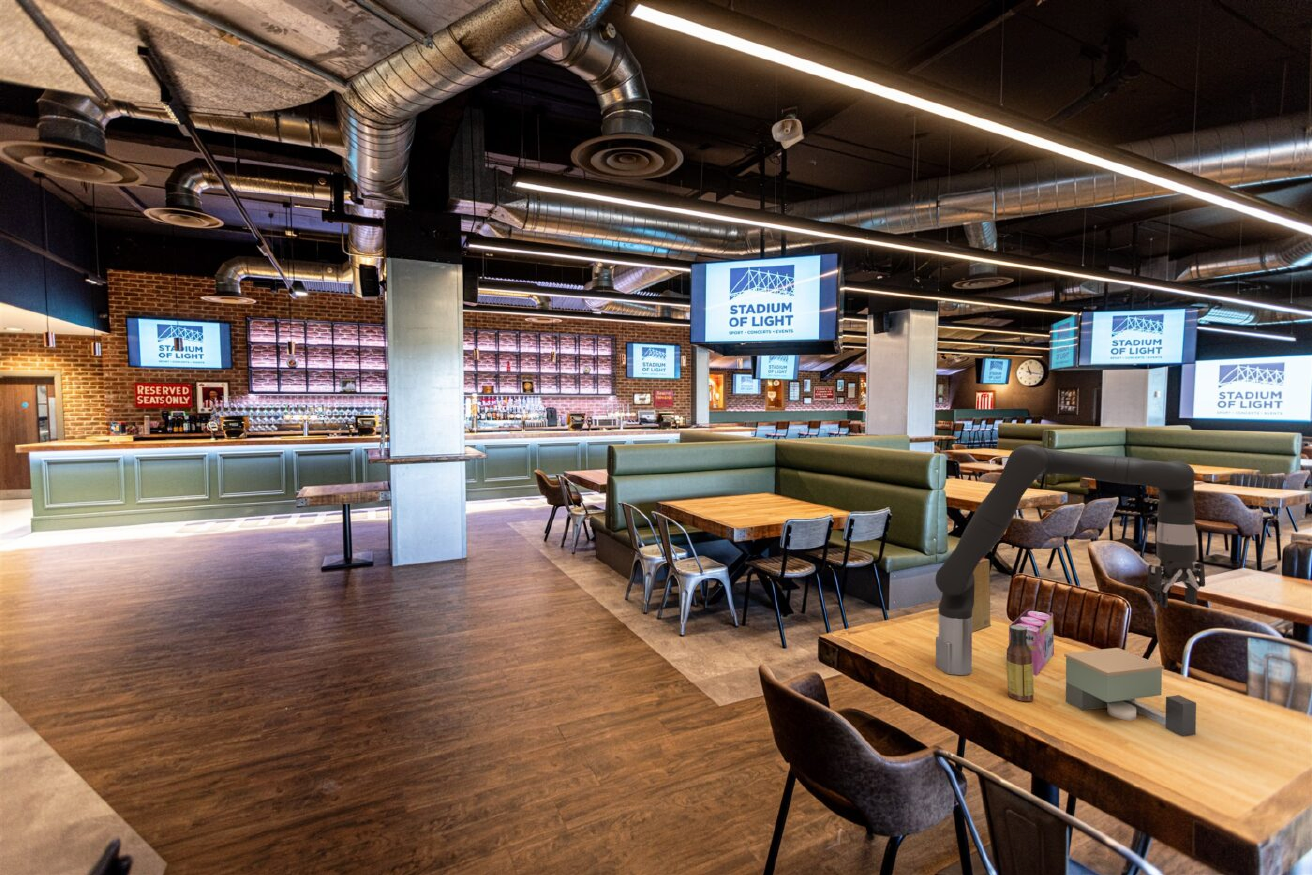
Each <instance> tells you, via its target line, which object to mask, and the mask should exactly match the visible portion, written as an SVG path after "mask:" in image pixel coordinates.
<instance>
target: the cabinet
mask: <svg viewBox="0 0 1312 875" xmlns="http://www.w3.org/2000/svg"><path fill="white" fill-rule="evenodd" d="M1063 656H1064V657H1065V702H1066V703H1067V704H1070V705H1071V706H1073V707H1075V708H1077V709H1078V710H1081V711H1088V710H1096V709H1097V710H1098V709H1103V708H1107V702H1114V701H1122V702H1126V700H1129V699H1134V700H1136V699H1144V698H1152V697H1158V696H1162V691H1163V690H1162V687H1163V685H1162V684H1163V683H1162V681H1163V680H1162V679H1163V678H1162V677H1163V675H1162V674H1163V670H1164V669H1165V665H1163V664H1159V663H1157V662H1156V661H1152V660H1149V659H1147V658H1144V657H1142V656H1139V655H1137V654H1134V653H1131V652H1129V651H1127V650H1124V649H1122V648H1120V647H1112V648H1103V649H1094V650H1085V651H1084V650H1083V651H1075V652H1066V653H1064V654H1063Z"/></svg>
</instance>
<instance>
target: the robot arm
mask: <svg viewBox="0 0 1312 875" xmlns="http://www.w3.org/2000/svg"><path fill="white" fill-rule="evenodd" d="M1040 475H1067V476H1075V477H1081V478H1085V479H1089V480H1090V479H1091V480H1095V481H1101V482H1108V483H1114V484H1116V483H1117V484H1123V485H1137V486H1139V485H1140V486H1144V487H1150V488H1155V489H1158V497H1159V498H1158V499H1159V500H1158V503H1157V504H1158V505H1157V524H1156V525H1157V527H1156V558H1158V559H1159V560H1160V563H1159V565H1155V564H1148V568H1147V570H1148V571H1147V572H1148V573H1147V588H1148V589H1151V590H1153V591H1155V603H1156V605H1157V606H1158V607H1162V608H1168V607H1169V601H1168V599H1169V598H1168V597H1169V596H1168V595H1169V594H1168V591H1169V590H1170V587H1172V586H1174V585H1175V583H1179V582H1182V584H1183V585H1184V586H1185V588H1184V602H1185V604H1188V605H1192V606H1195V605H1197V604H1198V603H1197V601H1198V590H1200V588H1201V587H1202V588H1205V586H1206V573H1205V564H1204V563H1202V562H1198V561H1197V559H1198V558H1197V529H1196V512H1195V511H1196V510H1195V509H1196V508H1195V503H1194V492H1195V479H1196V475H1195V470H1194V469H1193V466H1191V465H1190V464H1188V463H1187V462H1186V461H1181V460H1178V459H1177V460H1175V459H1174V460H1169V461H1162V460H1161V461H1160V460H1146V459H1142V458H1137V457H1131V456H1123V455H1122V456H1120V455H1110V454H1108V455H1106V454H1093V453H1092V454H1091V453H1089V454H1088V453H1076V452H1075V453H1074V452H1069V451H1068V452H1067V451H1062V450H1057V449H1052V448H1048V447H1044V446H1043V447H1042V446H1039V445H1037V444H1031V443H1029V444H1028V443H1027V444H1023V445H1021V446H1018V447H1016V448H1015V449H1014V450H1012V451H1011V452H1010V454H1009V456H1008V459H1007V460H1006V462H1005V465H1004V467H1003V469H1002V471H1001V474H1000V476H999V477H998V479H997V481H996V483H995V484H994V486H993V487H992V488H991V490H990V491H989V492H988V493H987V495H986V496H985V497H984V499H983V500H982V501H981V503H980V505H979V506H978V507H977V509H976V511H975V512H974V513H973V515H972V517H971V519H970V520H969V522H968V524H967V526H966V527H965V529H964V531H963V533H962V535H961V536H960V539H959V541H958V543H957V545H956V547H955V548H954V550H953V551H952V553H951V554H950V555H949V556H948V558H947V559H946V561H945V562H944V563H943V564H942V565H941V566H940V568H939V569H938V570H937V572H936V573H935V585H936V587H937V589H938V590H939V591H940V593H942V594H941V599H940V602H939V604H938V636H935V667H936V668H938V669H939V670H941V671H943V672H944V673H946V674H947V675H954V676H955V675H956V676H967V675H970V674H972V673H973V672H972V671H973V668H972V667H973V640H972V638H973V632H972V609H973V606H974V590H975V580H974V574H973V571H974V570H975V568H976V566H977V565H978V563H979V562H980V561H981V560H982V558H985V556H986V555H988V554H989V553H990V552H991V551H992V550H993V548H995V546H996V545H997V543H998V542H999V541H1000V540H1001V539H1002V537H1003V536H1004V534H1005V533H1006V531H1007V530H1008V528H1009V526H1010V525H1011V522H1012V521H1013V519H1014V516H1015V515H1016V513H1017V509H1018V506H1019V504H1020V502H1021V499H1022V498H1023V496H1024V495H1025V493H1026V491H1027V490H1028V489H1029V488H1030V486H1031V485H1032V484H1033V483H1034V481H1035V480H1037V478H1038V477H1039V476H1040ZM1154 581H1155V582H1154Z"/></svg>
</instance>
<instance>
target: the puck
mask: <svg viewBox="0 0 1312 875" xmlns="http://www.w3.org/2000/svg"><path fill="white" fill-rule="evenodd" d="M1106 708H1107V709H1106V713H1107V714H1108V715H1110V716H1111V717H1113V718H1117V719H1119V720H1124V721H1135V720H1137V712H1136V708H1135V707H1134V706H1133V705H1131V704H1128V703H1126V702H1122V701H1114V702H1107V707H1106Z"/></svg>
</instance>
